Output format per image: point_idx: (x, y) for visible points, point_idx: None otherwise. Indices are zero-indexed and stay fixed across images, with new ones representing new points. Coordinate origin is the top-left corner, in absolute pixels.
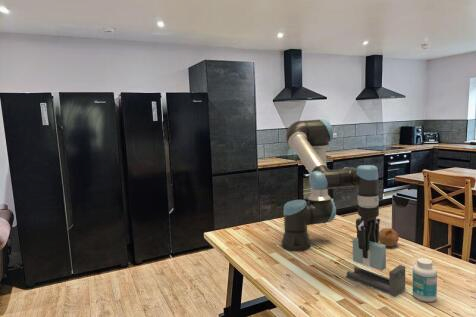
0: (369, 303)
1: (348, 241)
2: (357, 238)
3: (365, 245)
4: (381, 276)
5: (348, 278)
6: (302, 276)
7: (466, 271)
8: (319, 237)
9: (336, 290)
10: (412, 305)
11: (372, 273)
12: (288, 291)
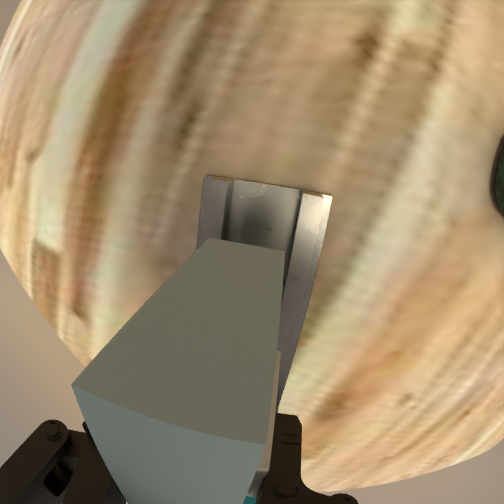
0: (94, 336)
1: None
2: (214, 455)
3: (61, 487)
4: None
5: (203, 193)
6: (101, 16)
7: (456, 459)
8: None
9: (76, 202)
10: None
11: (285, 318)
12: (7, 81)
